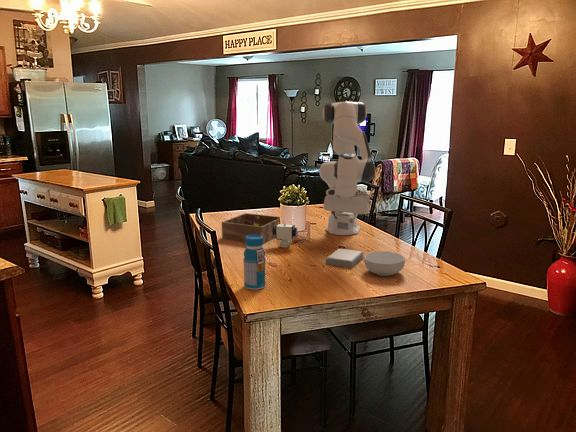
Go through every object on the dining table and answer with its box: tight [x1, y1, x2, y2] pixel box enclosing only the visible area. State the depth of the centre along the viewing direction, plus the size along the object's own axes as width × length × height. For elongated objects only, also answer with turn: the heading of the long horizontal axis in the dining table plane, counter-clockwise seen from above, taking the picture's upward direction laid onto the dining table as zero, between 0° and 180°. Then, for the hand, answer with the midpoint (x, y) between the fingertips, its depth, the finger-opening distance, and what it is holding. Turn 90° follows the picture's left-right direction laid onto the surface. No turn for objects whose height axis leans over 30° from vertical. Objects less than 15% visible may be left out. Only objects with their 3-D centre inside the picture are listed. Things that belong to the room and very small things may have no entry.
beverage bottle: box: [242, 235, 266, 291], centre depth 181 cm, size 8×8×20 cm
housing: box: [337, 212, 354, 230], centre depth 210 cm, size 8×5×6 cm, turn 154°
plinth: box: [325, 248, 364, 269], centre depth 214 cm, size 16×12×3 cm
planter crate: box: [221, 212, 281, 245], centre depth 254 cm, size 24×24×9 cm
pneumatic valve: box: [273, 222, 298, 249], centre depth 234 cm, size 6×12×12 cm, turn 79°
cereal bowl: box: [363, 250, 406, 277], centre depth 198 cm, size 17×17×7 cm
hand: (345, 221), depth 210 cm, fingers closed on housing, 5 cm apart
